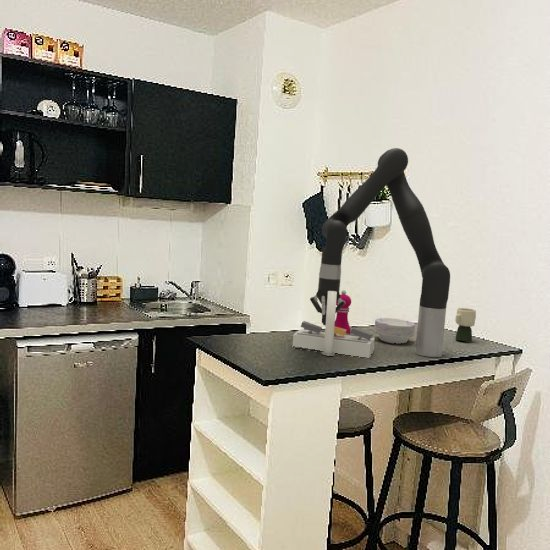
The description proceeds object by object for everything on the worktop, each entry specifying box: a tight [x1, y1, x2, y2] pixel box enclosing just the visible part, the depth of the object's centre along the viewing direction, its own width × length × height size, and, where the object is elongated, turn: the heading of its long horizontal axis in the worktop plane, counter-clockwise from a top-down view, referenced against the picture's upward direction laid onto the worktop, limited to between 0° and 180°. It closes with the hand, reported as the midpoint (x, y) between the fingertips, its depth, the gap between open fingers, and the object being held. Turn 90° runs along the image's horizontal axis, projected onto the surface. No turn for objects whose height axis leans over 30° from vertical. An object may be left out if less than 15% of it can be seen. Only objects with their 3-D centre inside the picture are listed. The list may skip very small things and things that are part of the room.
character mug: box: [455, 307, 477, 342], centre depth 224 cm, size 11×7×13 cm, turn 119°
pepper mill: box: [334, 289, 352, 334], centre depth 208 cm, size 7×7×20 cm
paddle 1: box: [300, 320, 323, 333], centre depth 200 cm, size 7×3×2 cm, turn 72°
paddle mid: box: [334, 326, 346, 336], centre depth 197 cm, size 7×3×2 cm, turn 72°
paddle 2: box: [350, 326, 373, 340], centre depth 194 cm, size 7×3×2 cm, turn 72°
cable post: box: [321, 291, 337, 357], centre depth 189 cm, size 4×4×22 cm
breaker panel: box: [292, 328, 376, 359], centre depth 198 cm, size 27×11×6 cm, turn 72°
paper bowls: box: [374, 317, 416, 345], centre depth 217 cm, size 15×15×8 cm
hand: (325, 325), depth 198 cm, fingers closed
